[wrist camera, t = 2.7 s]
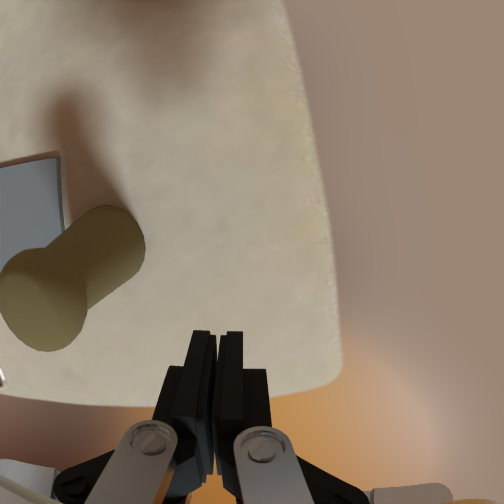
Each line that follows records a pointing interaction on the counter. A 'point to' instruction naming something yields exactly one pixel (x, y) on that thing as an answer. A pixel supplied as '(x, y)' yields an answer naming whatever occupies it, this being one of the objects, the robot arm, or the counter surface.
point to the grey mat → (29, 206)
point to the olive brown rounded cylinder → (69, 277)
